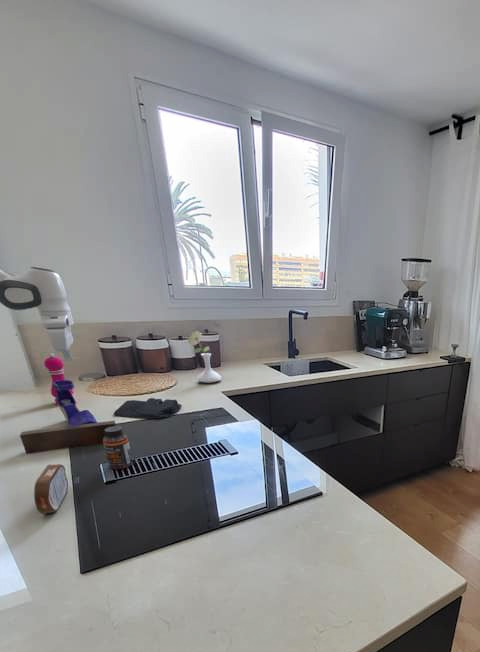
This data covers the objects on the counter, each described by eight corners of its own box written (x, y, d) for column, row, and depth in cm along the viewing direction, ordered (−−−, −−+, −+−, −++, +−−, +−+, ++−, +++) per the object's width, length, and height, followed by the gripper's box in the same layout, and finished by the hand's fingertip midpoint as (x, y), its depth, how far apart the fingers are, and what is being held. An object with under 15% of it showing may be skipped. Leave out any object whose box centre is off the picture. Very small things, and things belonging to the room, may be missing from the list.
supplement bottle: (105, 470, 108) (95, 433, 104) (114, 461, 114) (105, 425, 109) (129, 469, 109) (120, 432, 105) (136, 460, 115) (128, 424, 110)
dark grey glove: (135, 404, 162) (133, 392, 160) (186, 407, 160) (184, 396, 158) (109, 416, 148) (106, 404, 146) (164, 419, 146) (162, 407, 144)
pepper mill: (51, 402, 160) (36, 353, 152) (71, 398, 166) (57, 351, 158) (58, 406, 157) (43, 355, 148) (78, 402, 162) (65, 353, 154)
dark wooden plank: (26, 453, 117) (19, 435, 114) (28, 450, 119) (21, 431, 117) (118, 440, 127) (114, 423, 125) (119, 437, 130) (114, 420, 127)
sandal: (75, 435, 130) (63, 391, 124) (59, 420, 142) (47, 379, 136) (103, 429, 136) (92, 387, 130) (85, 415, 148) (75, 376, 142)
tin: (58, 489, 99) (48, 459, 96) (73, 486, 100) (64, 457, 97) (39, 521, 86) (27, 488, 83) (56, 518, 87) (45, 485, 84)
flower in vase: (215, 377, 204) (209, 328, 194) (225, 382, 197) (219, 330, 187) (190, 381, 196) (182, 330, 186) (199, 386, 189) (192, 332, 178)
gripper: (50, 316, 141) (62, 355, 146) (40, 323, 124) (53, 366, 130) (71, 316, 144) (82, 354, 149) (64, 322, 127) (76, 365, 133)
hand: (68, 360), depth 140 cm, fingers closed
